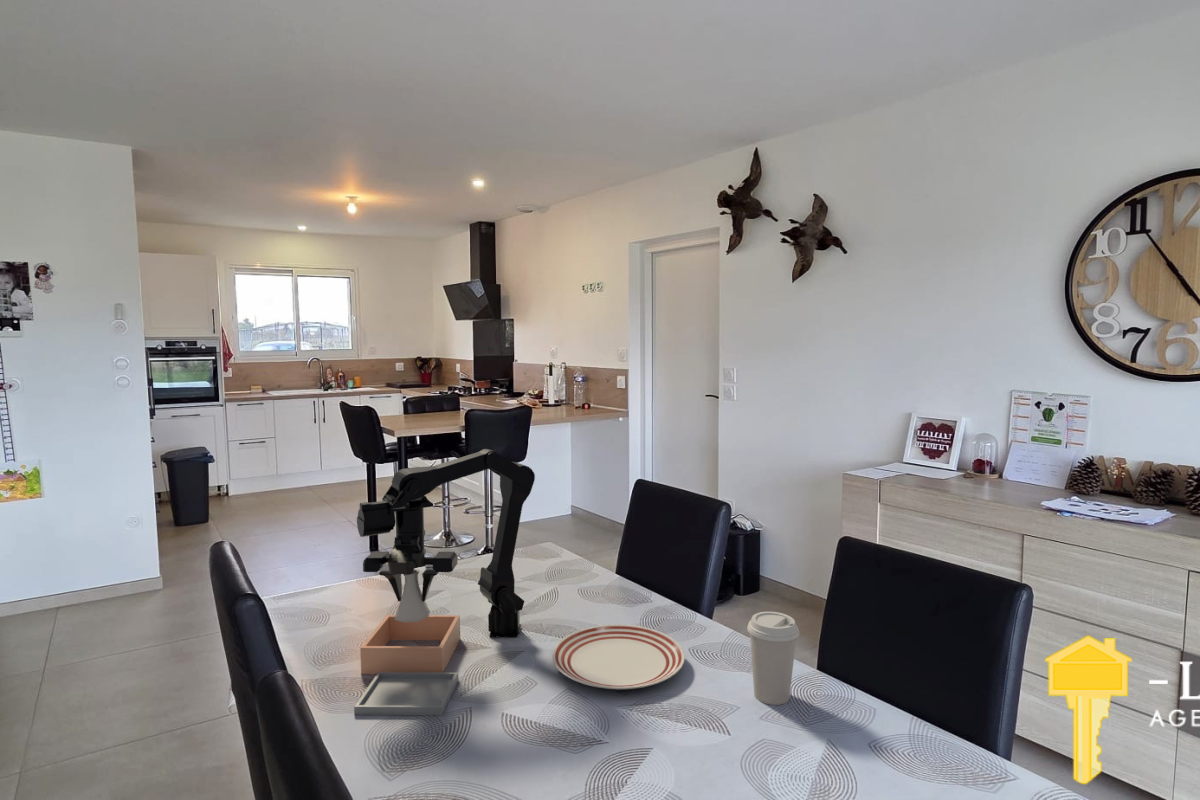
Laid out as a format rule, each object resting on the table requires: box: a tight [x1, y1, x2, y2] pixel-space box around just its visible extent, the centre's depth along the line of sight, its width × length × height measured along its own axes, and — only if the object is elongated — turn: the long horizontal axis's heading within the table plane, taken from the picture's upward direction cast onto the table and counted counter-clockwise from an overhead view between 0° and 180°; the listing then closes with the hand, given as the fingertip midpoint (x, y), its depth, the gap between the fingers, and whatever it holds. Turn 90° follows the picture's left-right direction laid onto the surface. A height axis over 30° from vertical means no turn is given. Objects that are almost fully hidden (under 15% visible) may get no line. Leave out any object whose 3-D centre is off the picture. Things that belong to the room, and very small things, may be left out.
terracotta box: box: [359, 614, 461, 675], centre depth 147 cm, size 17×17×6 cm
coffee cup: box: [746, 611, 800, 706], centre depth 130 cm, size 10×10×15 cm
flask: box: [395, 568, 431, 622], centre depth 146 cm, size 7×7×10 cm
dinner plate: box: [551, 623, 686, 690], centre depth 143 cm, size 27×27×3 cm
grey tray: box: [353, 672, 459, 716], centre depth 131 cm, size 16×13×2 cm
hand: (411, 600), depth 147 cm, fingers closed on flask, 5 cm apart
